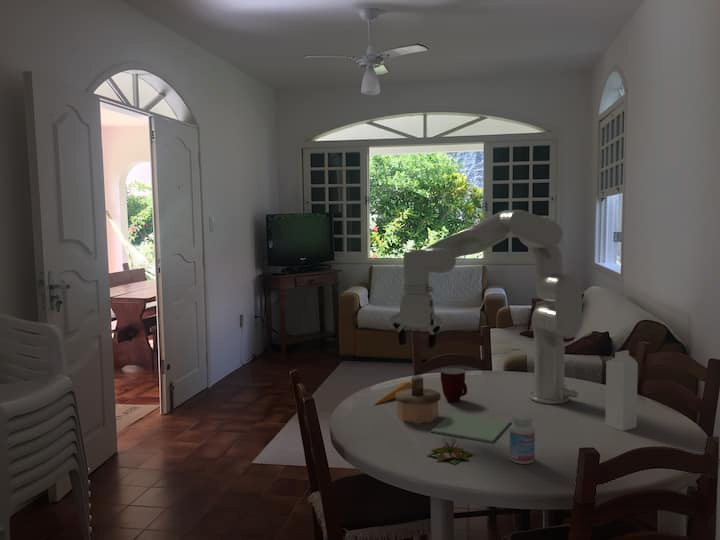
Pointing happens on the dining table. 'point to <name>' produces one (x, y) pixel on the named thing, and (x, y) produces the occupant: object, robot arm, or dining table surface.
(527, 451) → the pill bottle
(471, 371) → the dining table surface
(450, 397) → the mug
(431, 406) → the bowl
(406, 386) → the carrot
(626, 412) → the milk
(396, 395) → the lid
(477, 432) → the mat
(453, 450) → the lily flower
